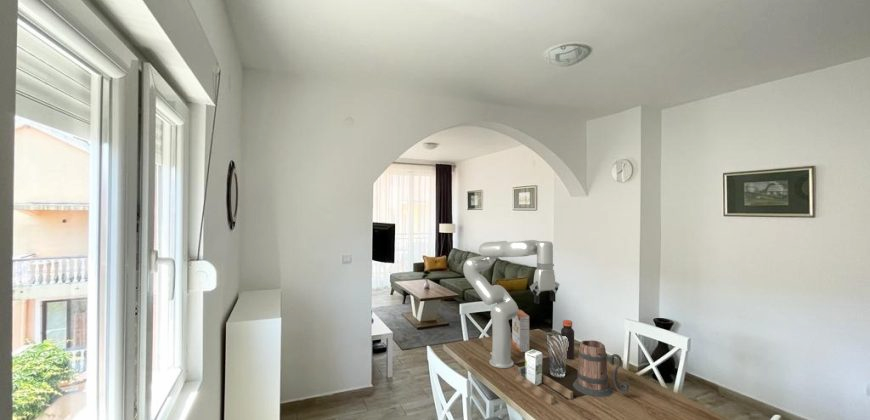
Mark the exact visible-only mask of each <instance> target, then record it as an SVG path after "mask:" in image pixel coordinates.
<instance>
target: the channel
mask: <svg viewBox="0 0 870 420" xmlns="http://www.w3.org/2000/svg"><path fill="white" fill-rule="evenodd" d="M517 370H518V371H517V373H515V381H516V382H517V383H518V384H520V385H522V386H523V387H525V388H526V389H527V390H529V391H530V392H531V393H533V394H535V395H536V396H538V398H540V399H542V400H544V402H546V403H547V404H549V405H550V406H553V405H555V397H554V396H553V395H552V394H550V393H548V392H547V391H545V390H544V389H543V388H541V387H540V386H539V385H537V386H536V385H535V384H533V383H532V382H530V381H529V380H527V379H526V378H525V365H524V366H518V368H517ZM542 383H543V384H544V385H546V386H548V387H550V388H551V389H553V390H554V391H556V392H557V393H559V394H560V395H562V396H564V397H565V398H567V399H569V400H574V391H572V390H570V389H569V388H567V387H566V386H564V385H562V384H560V383H559V382H557V381H555V380H554V379H552V378H551V377H549V376H548V375H546V374H544V373H542Z"/></svg>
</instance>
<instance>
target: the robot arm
mask: <svg viewBox="0 0 870 420" xmlns="http://www.w3.org/2000/svg"><path fill="white" fill-rule="evenodd" d="M478 253H479V255H480V256H472V257H470V258H468V259H466V260H465V261H464V263H463V267H462V271H463V275H464V277H465V280H467V282H468V283H469V284H470V285H471V287H472V288H473V289H474V290H475V292H476V294H477V295H478V296H479V298H480V299H481V301H482V302H483V303H484V304H486V305H488V306H491V305H493V306H492V308H491V309H490V319H491V326H492V327H491V329H492V336H491V337H492V341H491V342H492V345H491V346H492V349H491V350H492V351H490V353H489V354H490V355H491V358H490V359H489V361H488V362H489V364H490V366H492V367H495V368H498V369H509V368H512V367H513V366H514V363H515V362H514V360H512V358H511V356H512V355H511V354H512V353H511V351H512V349H511V347H512V346H511V345H512V344H511V343H512V342H511V339H512V338H511V336H512V335H511V334H512V332H511V330H512V329H511V326H510V322H509V320H512V318H514V317H516V316H517V314H518V310H519V307H518V305H517V302H516V301H515V300H514V299H513V298H512V297H511V295H510V294H509V292H508V291H507V290H506V288H505V287H504V286H502V285H501V284H500V285H499V284H494V285H492V284H491V283H490V282H489V281H488V279H487V278H486V277H485V276H484V275H482V274H481V272H485V271H487V270H489V269H490V268H491V267H492V265H494V263H495V262H496V261H497V259H498V258H518V257H528V256H535V255H536V269H534V276H533V283H532V284H531V285H529V289H530V291H531V293H532V294H533V302H534V303H535V304H537V305H538V304H541V298H540V295H539V294H540V293H541V292H547V291H550V292H549V301H551V302H554V303H555V302H556V294H557V293H558V290H559V288H560V285H561V284H560V283H559V282H557V281H556V275H555V269H554V267H555V265H554V244H553V242H552V241H548V240H547V241H546V240H545V241H544V240H540V241H539V240H537V239H528V240H527V239H526V240H519V241H506V240H498V241H487V242H483V243H482V244H480V245H479V247H478ZM494 304H495V305H494Z"/></svg>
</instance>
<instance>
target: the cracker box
mask: <svg viewBox="0 0 870 420" xmlns="http://www.w3.org/2000/svg"><path fill="white" fill-rule="evenodd" d="M511 320H512V323H511V325H512V326H511V330H512V332H511V334H512V335H511V336H512V338H511V339H512V342H511V343H512V345H513V346H514V347H515V348H516V349H517V350H518V352H519V353H525V352H528V351H530V315H528V314H527V313H525V311H523V310H522V309H518V314H517V316H516V317H514V318H512V319H511Z"/></svg>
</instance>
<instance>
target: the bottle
mask: <svg viewBox="0 0 870 420" xmlns="http://www.w3.org/2000/svg"><path fill="white" fill-rule="evenodd" d="M562 326H563V327H562V328H561V329H560V336H561V335H562V336H566V337H567V338H568V341H569V347H568V351H567V359H572V360H574V359H575V331H574V329H573V321H572V320H568V319H562ZM567 359H566V360H567Z"/></svg>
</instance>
